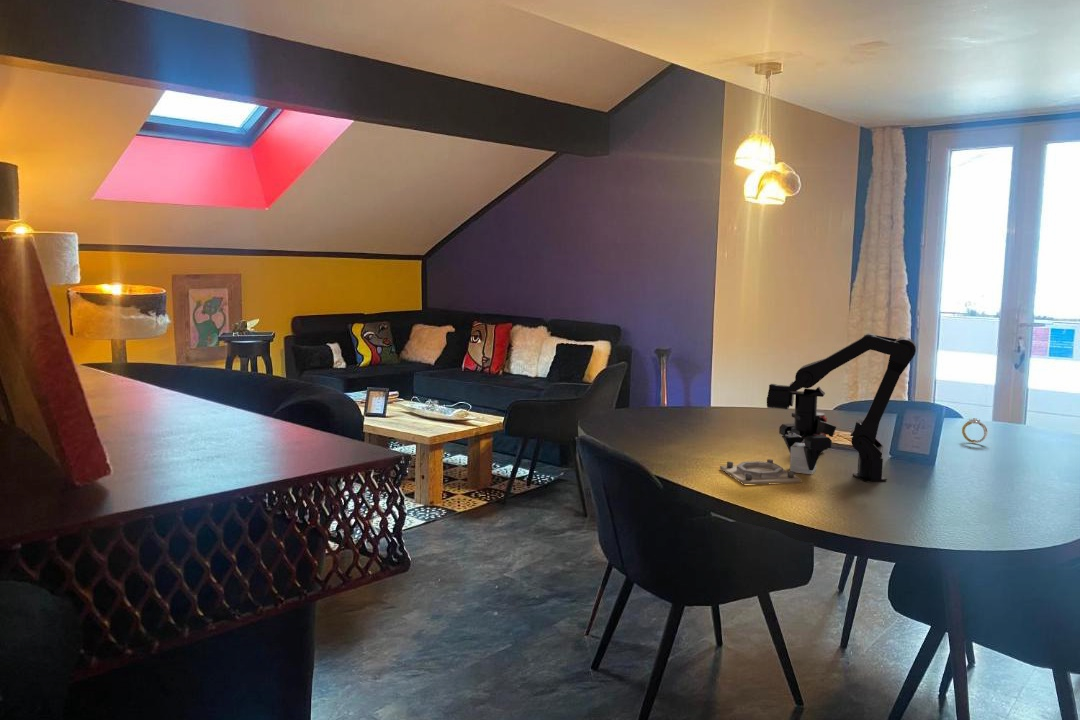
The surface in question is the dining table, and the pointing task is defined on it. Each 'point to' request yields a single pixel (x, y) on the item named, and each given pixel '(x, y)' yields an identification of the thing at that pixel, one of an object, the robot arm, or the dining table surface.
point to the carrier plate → (760, 481)
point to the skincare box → (799, 460)
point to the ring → (974, 423)
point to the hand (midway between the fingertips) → (803, 465)
